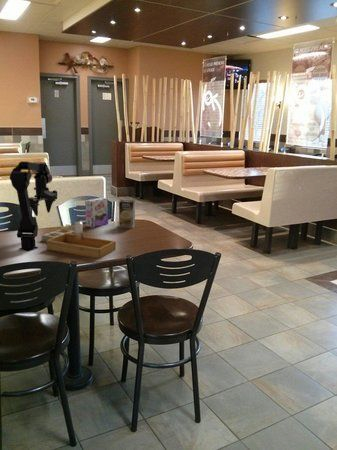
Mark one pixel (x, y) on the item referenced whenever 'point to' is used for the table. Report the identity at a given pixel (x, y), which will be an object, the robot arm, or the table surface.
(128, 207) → the coffee box
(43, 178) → the robot arm
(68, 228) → the drift key
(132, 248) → the table surface
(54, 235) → the socket block
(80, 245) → the tray
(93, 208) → the candy box
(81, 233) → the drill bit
